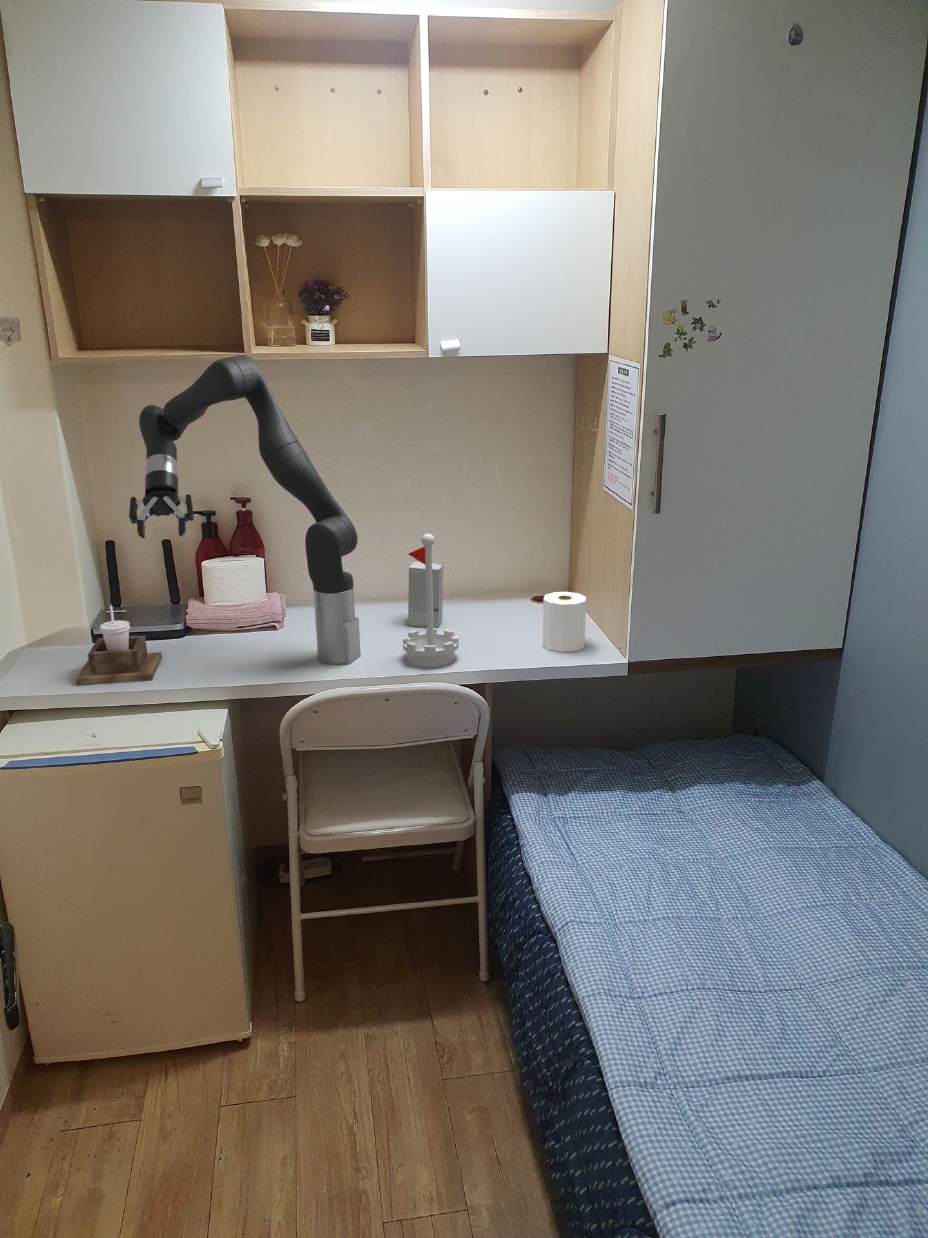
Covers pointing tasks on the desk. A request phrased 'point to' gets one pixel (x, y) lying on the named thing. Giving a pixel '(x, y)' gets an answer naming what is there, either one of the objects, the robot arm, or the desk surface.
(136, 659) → the socket board
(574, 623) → the toilet paper
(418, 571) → the skincare box
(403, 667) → the desk surface
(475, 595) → the desk surface
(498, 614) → the desk surface
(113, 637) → the smoothie
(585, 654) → the desk surface
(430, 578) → the flag stand
